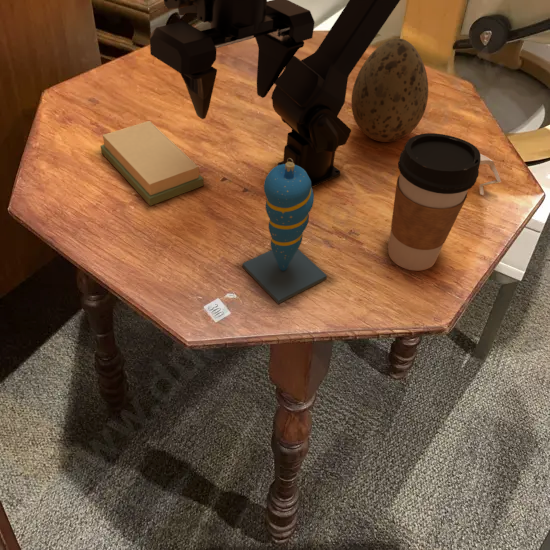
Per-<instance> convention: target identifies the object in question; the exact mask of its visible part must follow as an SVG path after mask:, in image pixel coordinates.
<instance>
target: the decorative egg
mask: <svg viewBox="0 0 550 550" xmlns="http://www.w3.org/2000/svg"><path fill="white" fill-rule="evenodd" d="M428 79H429V78H428V75H427V68H426V67H425V64H424V61H423V58H422V57H421V54H420V53H419V51H418V50H417V49H416V47H415V46H414V45H413V44H412V43H411V42H410V41H409V40H406V39H404V38H399V37H397V38H391V39H389V40H387V41H384V42H383V43H382V44H380V45H379V46H377V48H375V49H374V50H373V52H371V53H370V55H369V56H368V57H367V58H366V60H365V61H364V62H363V64H362V66H361V68H360V70H359V72H358V73H357V76H356V78H355V81H354V84H353V87H352V92H351V100H350V101H351V102H350V103H351V112H352V116H353V119H354V121H355V123H356V126H357V127H358V129H360V131H361V132H362V133H363V134H364V135H366V137H368V138H370V139H371V140H373V141H377V142H380V143H392V142H396V141H399V140H401V139H403V138H405V137H406V136H408V135H409V134H410V133H412V132H413V131H414V130H415V129H416V128H417V126H418V125H419V124H420V122H421V121H422V119H423V117H424V114H425V112H426V108H427V105H428V100H429V80H428Z"/></svg>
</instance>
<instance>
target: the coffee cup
mask: <svg viewBox="0 0 550 550" xmlns="http://www.w3.org/2000/svg"><path fill="white" fill-rule="evenodd" d="M480 154H481V152H480V150H479V148H477V146H475V145H474V144H473V143H471V142H469V141H468V140H464V139H462V138H459V137H456V136H452V135H448V134H443V133H435V132H428V133H420V134H416V135H413V136H411V138H409V139H407V141H406V143H405V145H404V147H403V149H402V151H401V152H400V154H399V157H398V162H397V168H398V171H399V175H398V177H397V180H396V186H395V194H394V201H393V208H392V217H391V224H390V232H389V233H390V234H389V239H388V245H387V254H388V256H389V258H390V259H391V261H392V262H393V263H394V264H396V265H397V266H399V267H401V268H403V269H405V270H409V271H416V272H417V271H418V272H419V271H421V272H422V271H425V270H427V269H428V270H429V269H430V268H432V267H433V266H434V265H435V263H436V262H437V260H438V257H439V256H440V253H441V251H442V248H443V247H444V244H445V243H446V240H447V239H448V236H449V235H450V232H451V230H452V228H453V226H454V224H455V222H456V220H457V218H458V217H459V214H460V213H461V210H462V208H463V206H464V204H465V202H466V200H467V197H468V191H469V190H470V189H471V188H472V187H473V186H475V184H476V183H477V180H478V177H479V172H480V170H479V169H480V166H481V165H480V159H481V156H480Z"/></svg>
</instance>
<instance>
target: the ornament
mask: <svg viewBox="0 0 550 550" xmlns="http://www.w3.org/2000/svg"><path fill="white" fill-rule="evenodd" d="M288 159H291V158H288ZM288 159H287V163H286V164H281V165H278V164H277V165H276V166H274V167H272V169H270V171H269V172H268V173H267V175H266V177H265V179H264V183H263V191H264V195H265V198H266V201H265V211H266V214H267V216H268V219H269V221H268V231H269V234H270V237H271V238H270V239H271V240H270V248H271V250H272V252H273V254H274V256H275V259H276V261H277V263H278V266H279V268H280V270H282V271H285V270H286V269H287V267H288V265H289V263H290V262H291V260H292V258H293V256H294V254H295V253H296V251H297V250H298V249H299V248H300V246H301V244H302V241H303V236H304V234H303V233H304V232H305V230H306V228H307V227H308V224H309V220H310V212H311V211H312V208H313V206H314V201H315V194H314V189H313V187H311V180H310V178H309V176H308V174H307V173H306V171H305V170H304V169H303V168H301V167H299V166H297V165H294V163H293V160H292V159H291V160H292V162H288Z"/></svg>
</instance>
